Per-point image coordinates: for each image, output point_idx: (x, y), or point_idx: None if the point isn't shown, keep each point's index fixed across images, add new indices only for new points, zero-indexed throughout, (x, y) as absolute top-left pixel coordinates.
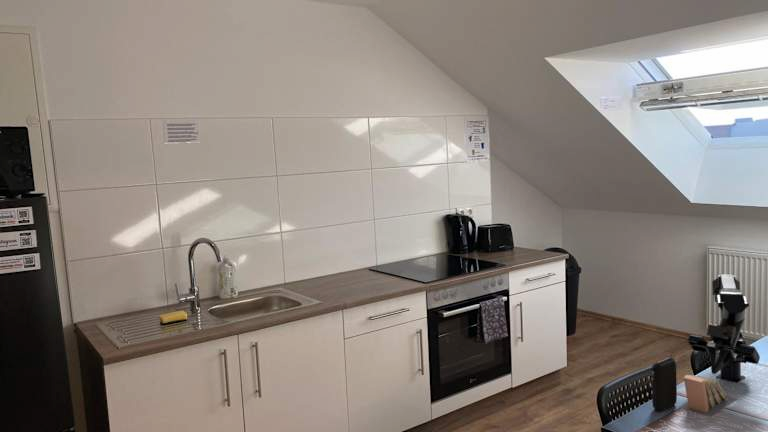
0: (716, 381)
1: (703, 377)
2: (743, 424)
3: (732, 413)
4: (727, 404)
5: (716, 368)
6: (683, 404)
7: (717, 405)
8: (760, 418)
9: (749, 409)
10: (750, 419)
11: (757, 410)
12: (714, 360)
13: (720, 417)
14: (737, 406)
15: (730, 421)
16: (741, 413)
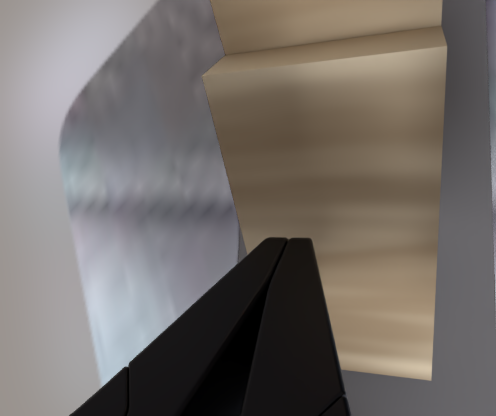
0: (212, 113)
1: (352, 53)
2: (110, 69)
3: (190, 160)
4: (246, 254)
5: (227, 278)
6: (484, 25)
7: None
8: (70, 203)
9: (138, 291)
10: (101, 154)
11: (104, 306)
12: (247, 402)
13: (220, 56)
14: (202, 290)
15: (165, 51)
16: (154, 198)
